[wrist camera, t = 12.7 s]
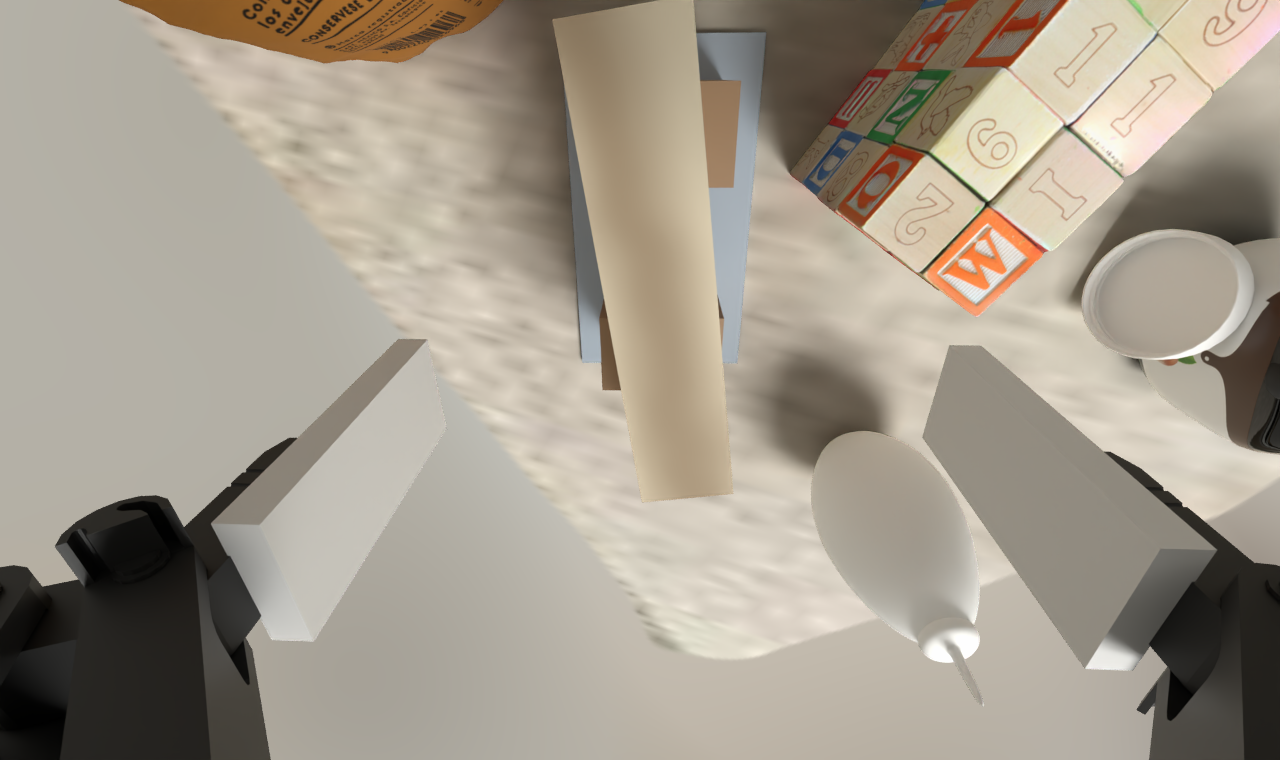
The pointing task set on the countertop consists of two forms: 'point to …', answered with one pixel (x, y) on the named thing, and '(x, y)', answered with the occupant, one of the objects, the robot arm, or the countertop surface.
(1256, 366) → the spread jar
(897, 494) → the sauce bottle
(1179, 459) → the countertop surface
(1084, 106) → the stack of blocks
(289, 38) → the coffee package
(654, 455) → the bar
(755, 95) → the build board
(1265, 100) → the countertop surface
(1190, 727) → the robot arm
